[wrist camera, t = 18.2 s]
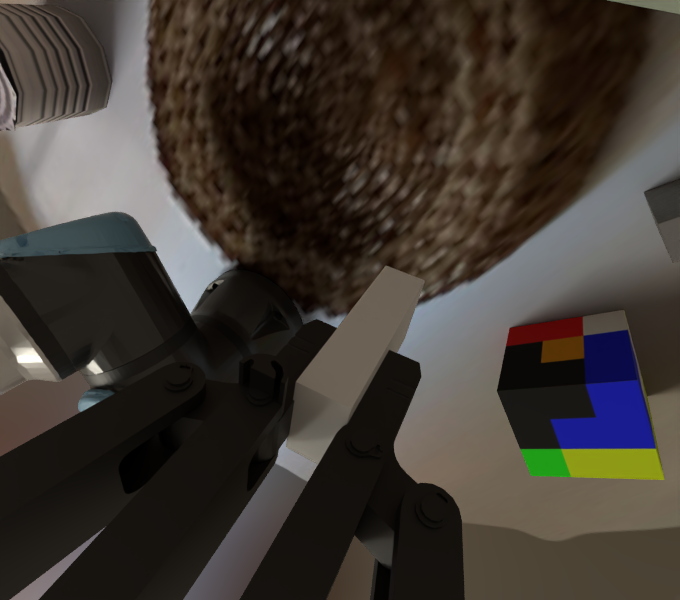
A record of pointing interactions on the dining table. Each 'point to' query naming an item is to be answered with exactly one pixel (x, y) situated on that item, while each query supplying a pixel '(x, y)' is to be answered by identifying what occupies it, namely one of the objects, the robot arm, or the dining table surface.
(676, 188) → the stand post
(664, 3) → the square base plate
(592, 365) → the puzzle toy
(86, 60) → the can
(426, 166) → the dining table surface
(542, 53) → the dining table surface
